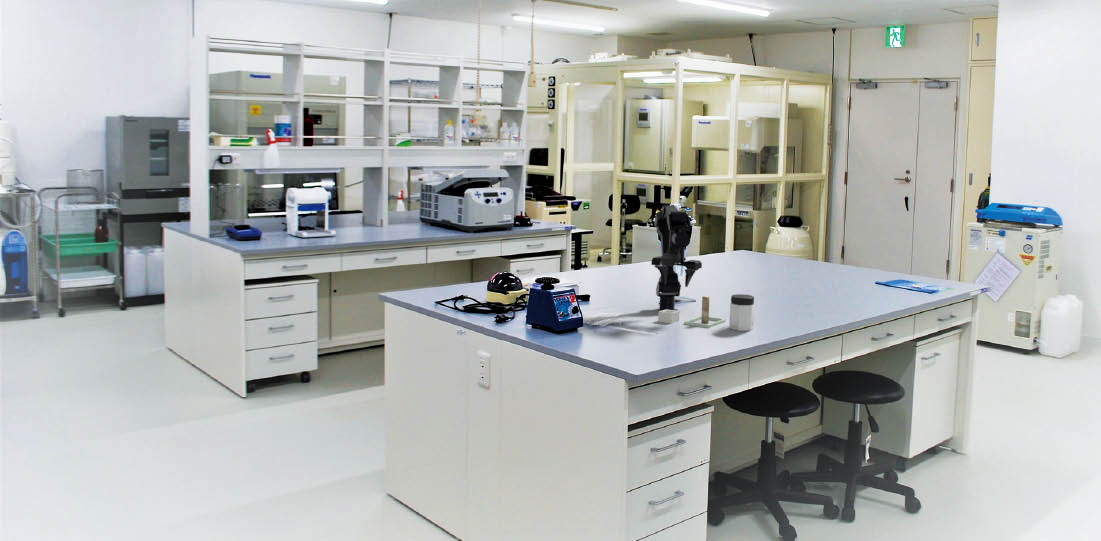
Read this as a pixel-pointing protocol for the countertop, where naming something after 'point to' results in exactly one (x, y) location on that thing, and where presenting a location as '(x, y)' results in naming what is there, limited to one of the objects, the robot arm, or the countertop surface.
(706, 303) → the dowel
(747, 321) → the jar
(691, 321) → the tray
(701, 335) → the countertop surface
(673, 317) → the white square tube
